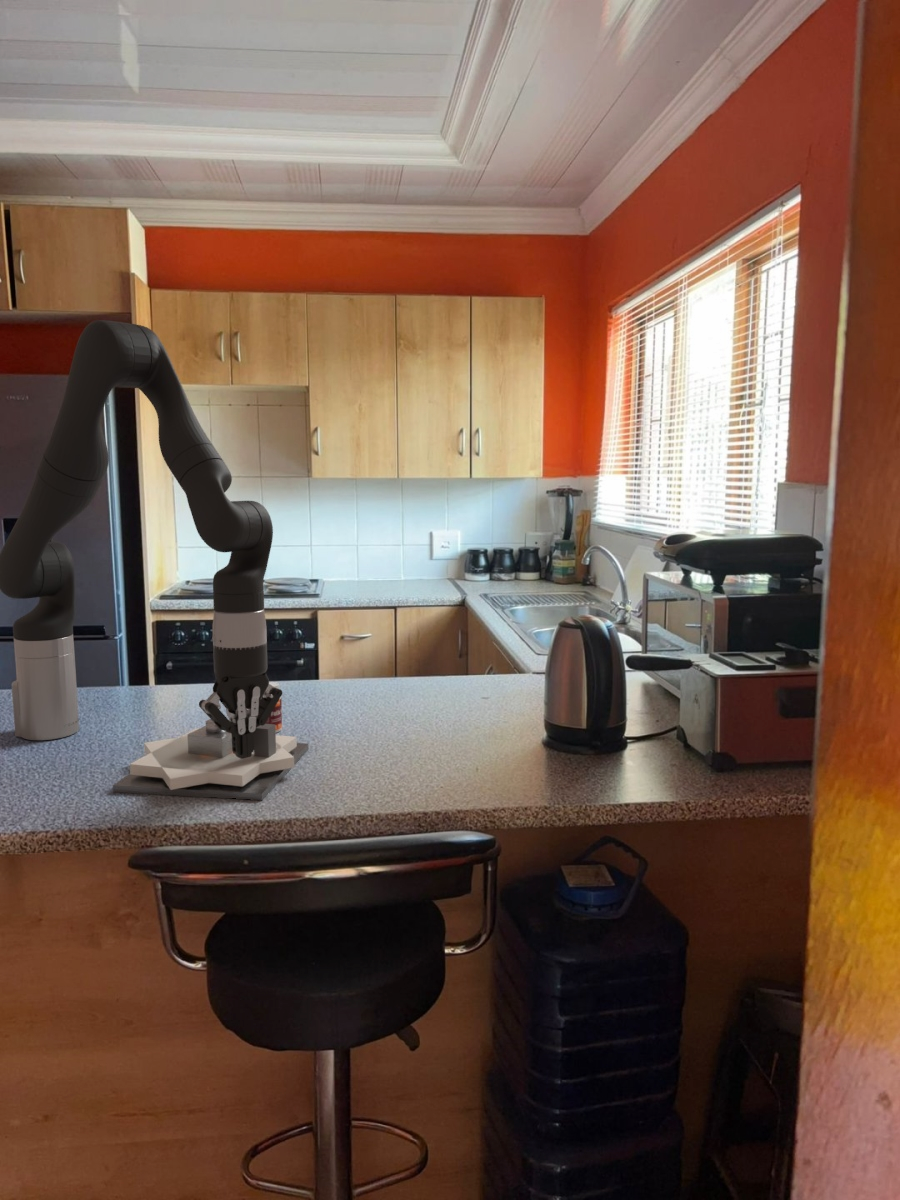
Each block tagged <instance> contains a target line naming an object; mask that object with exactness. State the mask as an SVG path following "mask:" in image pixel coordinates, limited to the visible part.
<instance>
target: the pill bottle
mask: <svg viewBox="0 0 900 1200" xmlns="http://www.w3.org/2000/svg"><path fill="white" fill-rule="evenodd" d="M269 684H270V685H272V686H273V687H275V688H278V689H280V683H278V682H276V681H269ZM262 697H263V696H262ZM282 701H283V700H282V696H281V697H280V699H279V701H278V702H277V704H276V706H275V708H274V709H273V711H272V713H271V715H270V716H269V718H268V720H267V722H266V723H265V724H275V733H276V734H277V733H280V732H281V731H282V730H283V720H282V719H283V716H282V715H283V714H282V713H283V711H282V705H283V704H282Z"/></svg>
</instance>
